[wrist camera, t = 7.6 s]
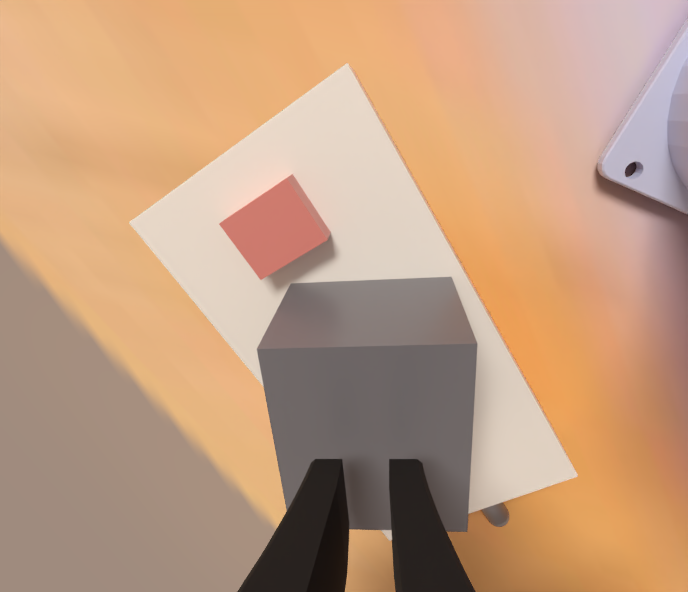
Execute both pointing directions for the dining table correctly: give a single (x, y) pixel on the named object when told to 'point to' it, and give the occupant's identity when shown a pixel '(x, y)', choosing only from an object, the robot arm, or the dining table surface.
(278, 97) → the dining table surface
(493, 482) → the socket strip
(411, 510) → the robot arm
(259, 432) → the dining table surface
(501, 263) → the dining table surface
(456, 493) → the plug
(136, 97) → the dining table surface
